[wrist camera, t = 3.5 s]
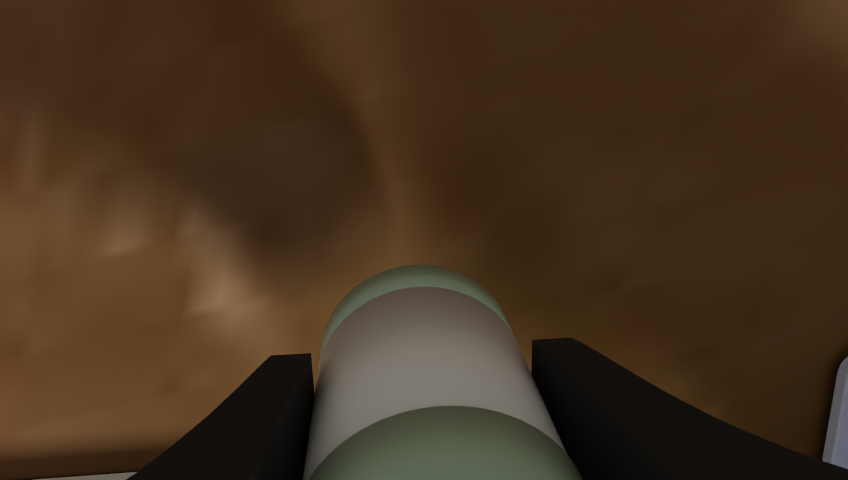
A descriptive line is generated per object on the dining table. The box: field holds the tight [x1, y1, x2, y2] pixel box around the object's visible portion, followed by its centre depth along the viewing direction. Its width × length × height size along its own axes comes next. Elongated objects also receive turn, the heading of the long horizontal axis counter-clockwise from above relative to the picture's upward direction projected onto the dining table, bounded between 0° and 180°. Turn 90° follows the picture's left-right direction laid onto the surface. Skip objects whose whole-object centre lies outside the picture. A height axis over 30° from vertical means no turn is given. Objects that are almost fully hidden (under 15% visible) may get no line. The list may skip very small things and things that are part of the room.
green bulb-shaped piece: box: [303, 265, 583, 480], centre depth 10 cm, size 4×4×6 cm
